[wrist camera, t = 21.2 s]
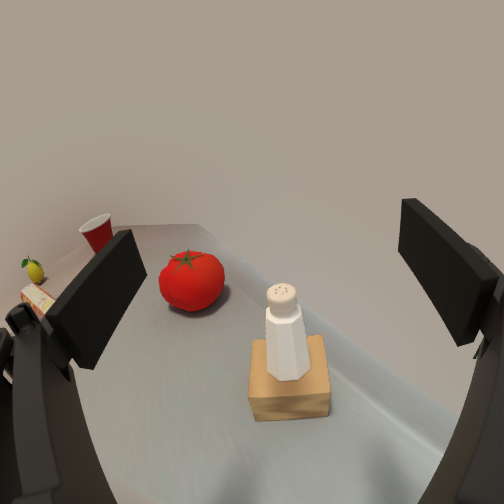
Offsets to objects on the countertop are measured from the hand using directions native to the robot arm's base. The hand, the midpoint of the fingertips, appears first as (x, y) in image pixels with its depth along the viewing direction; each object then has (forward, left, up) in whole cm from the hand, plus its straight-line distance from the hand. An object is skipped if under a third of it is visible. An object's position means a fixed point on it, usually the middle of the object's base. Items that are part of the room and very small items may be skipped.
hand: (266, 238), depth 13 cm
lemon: (+75, -42, -28) cm, 90 cm away
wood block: (0, -10, -27) cm, 29 cm away
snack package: (+56, -26, -28) cm, 68 cm away
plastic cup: (+53, -55, -28) cm, 81 cm away
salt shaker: (0, -10, -22) cm, 24 cm away
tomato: (+17, -31, -28) cm, 45 cm away
